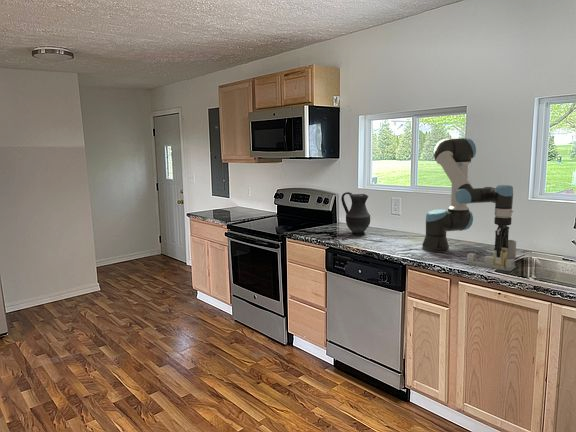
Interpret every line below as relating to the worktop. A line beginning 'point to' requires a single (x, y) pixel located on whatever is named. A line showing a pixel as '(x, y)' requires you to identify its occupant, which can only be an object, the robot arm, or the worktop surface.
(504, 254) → the block
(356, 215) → the pitcher
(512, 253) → the cup
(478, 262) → the rail
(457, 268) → the worktop surface
